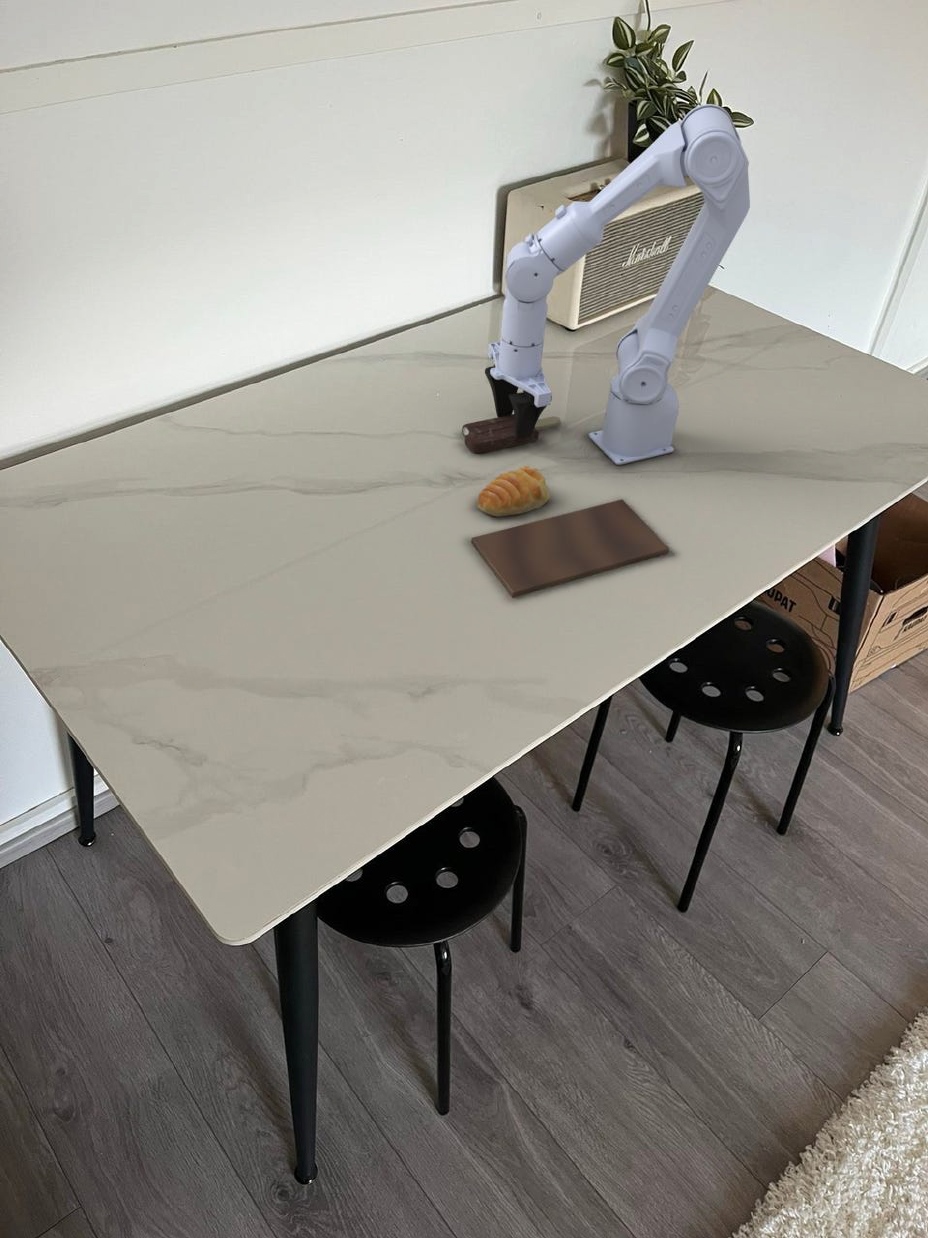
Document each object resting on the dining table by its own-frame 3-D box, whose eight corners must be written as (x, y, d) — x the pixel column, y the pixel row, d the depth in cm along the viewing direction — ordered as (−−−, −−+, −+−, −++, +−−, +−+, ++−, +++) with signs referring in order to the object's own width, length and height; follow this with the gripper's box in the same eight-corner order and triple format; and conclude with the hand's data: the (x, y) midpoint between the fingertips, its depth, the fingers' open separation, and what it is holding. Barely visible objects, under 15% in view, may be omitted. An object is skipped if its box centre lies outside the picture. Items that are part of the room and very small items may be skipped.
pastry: (498, 528, 130) (500, 503, 127) (464, 502, 134) (466, 477, 131) (553, 503, 135) (556, 479, 132) (519, 479, 138) (522, 454, 136)
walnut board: (621, 503, 135) (622, 498, 135) (668, 553, 128) (669, 548, 128) (470, 542, 128) (471, 537, 127) (512, 597, 121) (512, 592, 120)
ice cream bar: (550, 415, 150) (456, 435, 145) (551, 405, 149) (457, 425, 144) (568, 434, 147) (472, 455, 141) (569, 424, 145) (473, 445, 140)
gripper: (470, 317, 139) (465, 405, 148) (521, 368, 129) (512, 459, 139) (517, 309, 141) (508, 396, 151) (570, 358, 132) (557, 448, 141)
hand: (513, 425), depth 145 cm, fingers closed on ice cream bar, 5 cm apart
